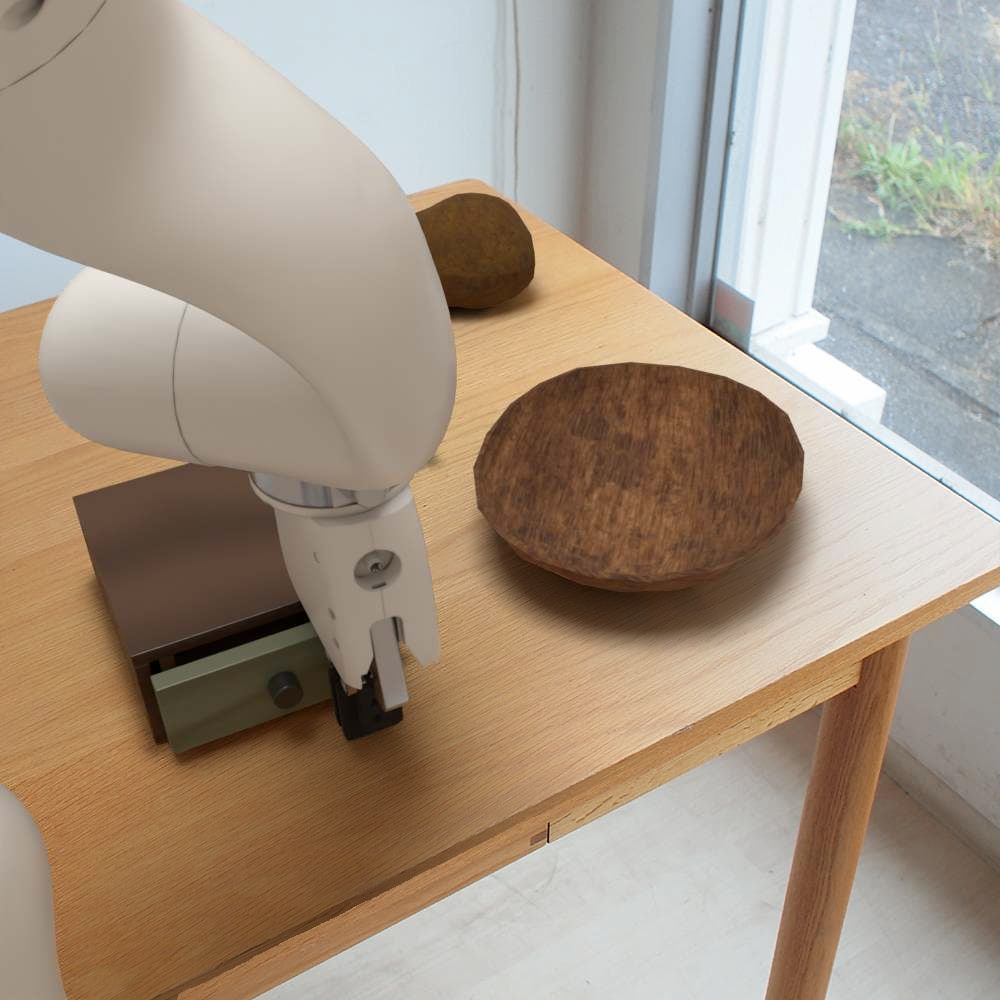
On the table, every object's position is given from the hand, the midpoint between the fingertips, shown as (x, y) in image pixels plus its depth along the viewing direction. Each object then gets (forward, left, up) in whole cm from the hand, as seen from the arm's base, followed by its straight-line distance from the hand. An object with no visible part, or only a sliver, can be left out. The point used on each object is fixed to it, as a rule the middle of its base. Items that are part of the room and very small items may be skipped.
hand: (369, 721), depth 69 cm
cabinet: (-4, +12, -1) cm, 13 cm away
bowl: (+21, +9, -1) cm, 23 cm away
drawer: (-4, +9, 0) cm, 10 cm away
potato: (+23, +40, -1) cm, 46 cm away
